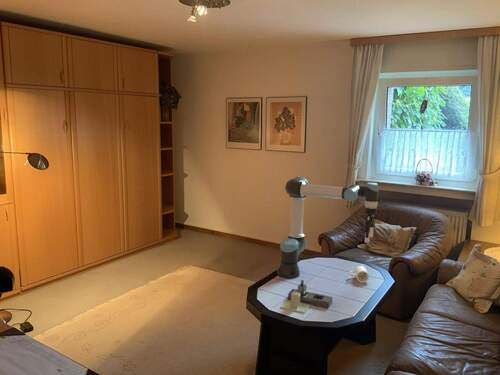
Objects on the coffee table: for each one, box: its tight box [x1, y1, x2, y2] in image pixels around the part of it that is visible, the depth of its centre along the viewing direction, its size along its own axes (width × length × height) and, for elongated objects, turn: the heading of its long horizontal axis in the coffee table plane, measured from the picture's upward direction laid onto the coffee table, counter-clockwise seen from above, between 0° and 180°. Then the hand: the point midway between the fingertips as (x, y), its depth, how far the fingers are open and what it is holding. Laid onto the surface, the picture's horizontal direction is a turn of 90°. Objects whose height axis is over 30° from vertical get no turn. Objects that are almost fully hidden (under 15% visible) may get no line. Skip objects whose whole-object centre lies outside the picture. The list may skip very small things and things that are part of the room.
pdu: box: [287, 279, 334, 309], centre depth 233 cm, size 24×8×12 cm, turn 64°
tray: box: [279, 299, 311, 314], centre depth 226 cm, size 14×10×1 cm
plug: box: [291, 291, 301, 309], centre depth 226 cm, size 4×4×8 cm
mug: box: [348, 265, 370, 283], centre depth 267 cm, size 12×10×8 cm
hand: (368, 239), depth 261 cm, fingers open, 13 cm apart
